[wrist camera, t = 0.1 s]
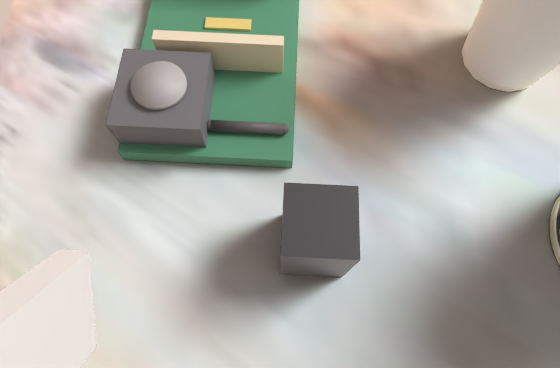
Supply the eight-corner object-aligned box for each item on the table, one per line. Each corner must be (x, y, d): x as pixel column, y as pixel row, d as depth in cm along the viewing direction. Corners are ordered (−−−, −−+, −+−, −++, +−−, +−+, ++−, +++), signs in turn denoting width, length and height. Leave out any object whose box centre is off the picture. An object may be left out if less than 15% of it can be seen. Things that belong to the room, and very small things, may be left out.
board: (291, 167, 28) (294, 136, 24) (124, 159, 28) (96, 126, 24) (299, -12, 34) (302, -63, 30) (161, -18, 35) (144, -70, 30)
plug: (341, 277, 26) (359, 260, 20) (279, 274, 26) (280, 256, 20) (341, 216, 27) (358, 185, 21) (282, 214, 27) (284, 181, 22)
